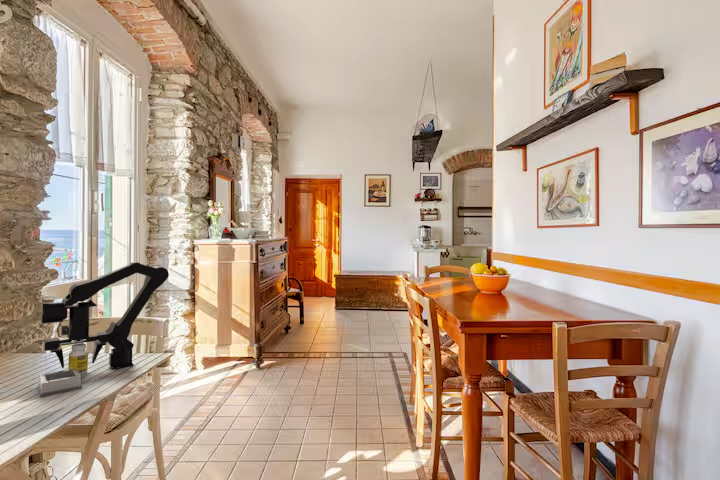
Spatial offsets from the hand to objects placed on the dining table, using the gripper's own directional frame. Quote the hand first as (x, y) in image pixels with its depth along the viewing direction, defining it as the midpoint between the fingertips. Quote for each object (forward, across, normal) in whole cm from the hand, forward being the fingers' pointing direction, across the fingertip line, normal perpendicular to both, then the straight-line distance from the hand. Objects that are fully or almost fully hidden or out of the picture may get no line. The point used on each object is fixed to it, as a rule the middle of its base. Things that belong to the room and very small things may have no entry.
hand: (78, 365), depth 133 cm
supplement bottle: (+3, 0, 0) cm, 3 cm away
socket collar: (+3, +6, +12) cm, 14 cm away
